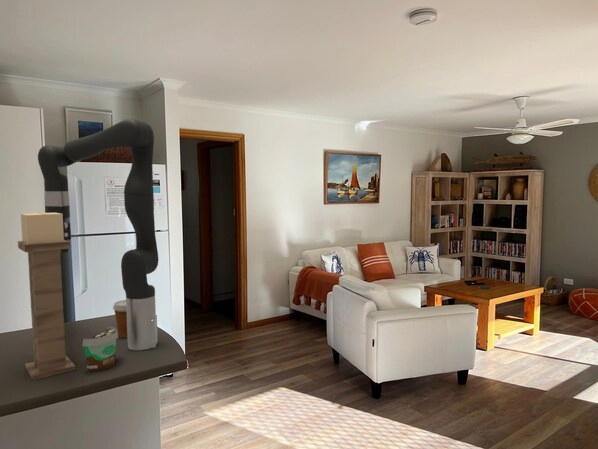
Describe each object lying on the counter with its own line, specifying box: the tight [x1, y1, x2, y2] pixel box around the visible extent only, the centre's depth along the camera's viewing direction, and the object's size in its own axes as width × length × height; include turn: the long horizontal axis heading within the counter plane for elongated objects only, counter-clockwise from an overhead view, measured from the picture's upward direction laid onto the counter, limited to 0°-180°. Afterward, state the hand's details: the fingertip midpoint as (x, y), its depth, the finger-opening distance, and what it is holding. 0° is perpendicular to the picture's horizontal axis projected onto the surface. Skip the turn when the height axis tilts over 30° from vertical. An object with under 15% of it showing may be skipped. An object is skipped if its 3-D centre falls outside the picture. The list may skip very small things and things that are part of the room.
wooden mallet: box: [20, 212, 64, 244], centre depth 133 cm, size 22×9×8 cm, turn 41°
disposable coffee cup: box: [112, 299, 128, 339], centre depth 160 cm, size 10×10×12 cm
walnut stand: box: [17, 240, 77, 381], centre depth 130 cm, size 12×11×38 cm
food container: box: [82, 326, 119, 372], centre depth 133 cm, size 12×6×10 cm, turn 168°
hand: (59, 250), depth 154 cm, fingers open, 8 cm apart
